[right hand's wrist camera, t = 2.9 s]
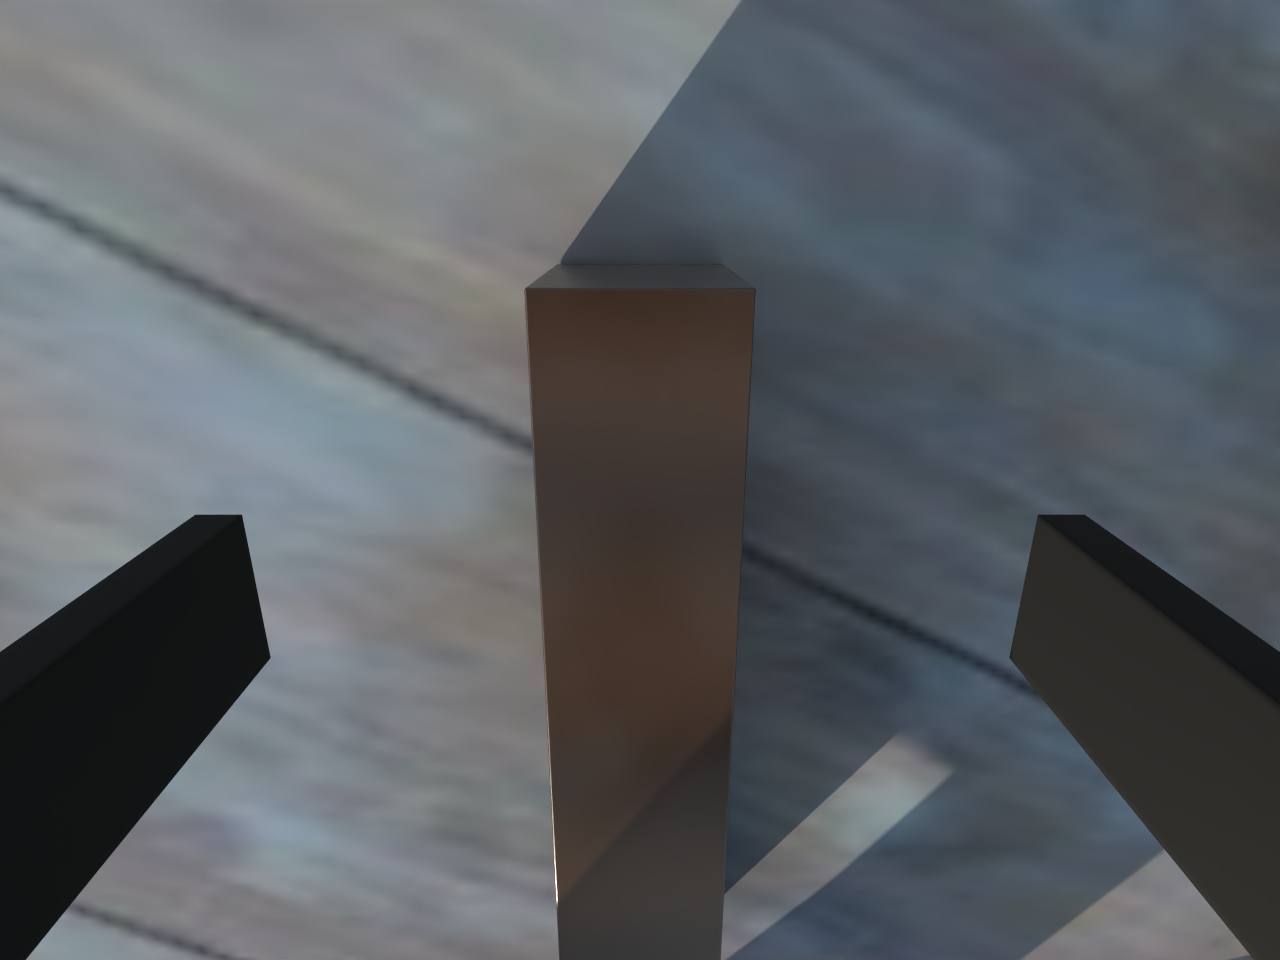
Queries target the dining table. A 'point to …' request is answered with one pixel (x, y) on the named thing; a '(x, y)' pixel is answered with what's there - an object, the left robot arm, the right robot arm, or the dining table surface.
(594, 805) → the walnut beam
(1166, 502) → the dining table surface
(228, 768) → the dining table surface
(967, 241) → the dining table surface
